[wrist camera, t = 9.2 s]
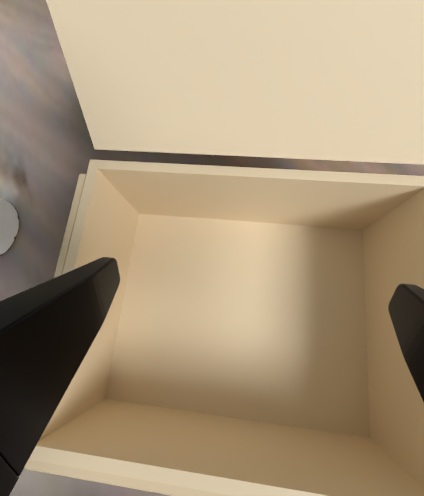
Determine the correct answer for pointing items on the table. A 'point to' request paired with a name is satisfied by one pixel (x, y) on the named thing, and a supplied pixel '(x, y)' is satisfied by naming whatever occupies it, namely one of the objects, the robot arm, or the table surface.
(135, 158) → the table surface
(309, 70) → the far flap
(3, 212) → the water bottle
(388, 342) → the carton
